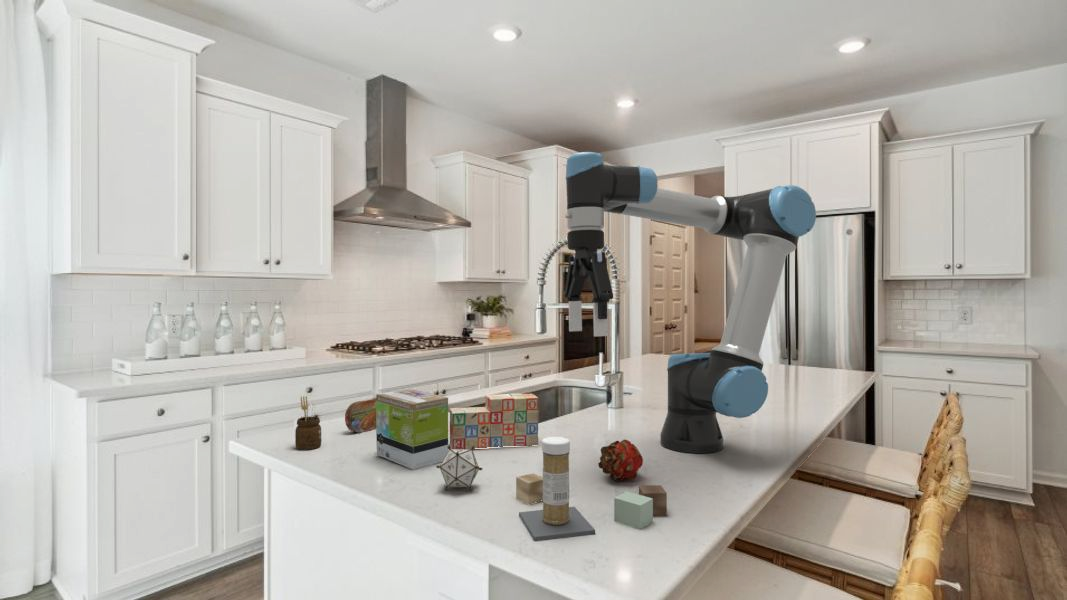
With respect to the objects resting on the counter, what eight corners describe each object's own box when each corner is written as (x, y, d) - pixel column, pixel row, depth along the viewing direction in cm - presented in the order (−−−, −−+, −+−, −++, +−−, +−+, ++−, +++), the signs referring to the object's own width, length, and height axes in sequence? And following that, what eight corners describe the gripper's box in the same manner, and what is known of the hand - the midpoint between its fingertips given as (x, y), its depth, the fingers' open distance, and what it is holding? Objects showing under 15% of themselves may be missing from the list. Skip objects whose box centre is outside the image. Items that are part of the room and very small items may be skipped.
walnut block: (661, 507, 101) (661, 485, 101) (666, 516, 97) (666, 493, 97) (638, 507, 101) (638, 485, 101) (643, 516, 97) (643, 493, 97)
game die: (462, 511, 108) (456, 480, 102) (431, 487, 112) (424, 456, 106) (493, 478, 114) (489, 447, 107) (462, 457, 118) (457, 426, 112)
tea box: (374, 456, 130) (374, 393, 130) (411, 448, 138) (411, 387, 138) (412, 471, 120) (412, 402, 120) (449, 460, 128) (450, 395, 127)
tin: (350, 435, 149) (350, 404, 149) (342, 434, 151) (342, 402, 151) (393, 424, 162) (393, 395, 162) (385, 423, 164) (385, 394, 163)
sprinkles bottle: (568, 514, 95) (568, 435, 95) (570, 526, 91) (571, 443, 91) (541, 515, 95) (541, 435, 95) (542, 526, 91) (542, 443, 90)
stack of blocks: (451, 452, 135) (452, 400, 135) (449, 445, 141) (449, 395, 141) (538, 446, 140) (538, 396, 140) (532, 439, 146) (532, 392, 146)
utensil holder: (300, 452, 134) (300, 401, 134) (291, 446, 139) (291, 397, 138) (325, 447, 138) (325, 398, 138) (315, 442, 143) (315, 394, 142)
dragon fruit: (607, 495, 111) (624, 485, 121) (643, 473, 108) (657, 465, 119) (585, 456, 114) (603, 449, 124) (619, 434, 111) (635, 430, 122)
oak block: (533, 494, 107) (533, 473, 107) (546, 500, 104) (546, 478, 104) (516, 498, 105) (516, 477, 105) (528, 505, 102) (528, 483, 101)
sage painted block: (626, 514, 98) (626, 491, 97) (652, 522, 94) (652, 498, 94) (614, 521, 95) (614, 497, 94) (640, 529, 91) (640, 505, 91)
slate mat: (574, 509, 99) (574, 506, 99) (595, 533, 89) (595, 529, 89) (519, 515, 96) (519, 512, 96) (534, 540, 87) (534, 536, 87)
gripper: (548, 235, 127) (550, 330, 127) (592, 223, 103) (594, 339, 103) (580, 235, 129) (581, 328, 129) (629, 223, 105) (631, 337, 106)
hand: (587, 333), depth 116 cm, fingers open, 13 cm apart
